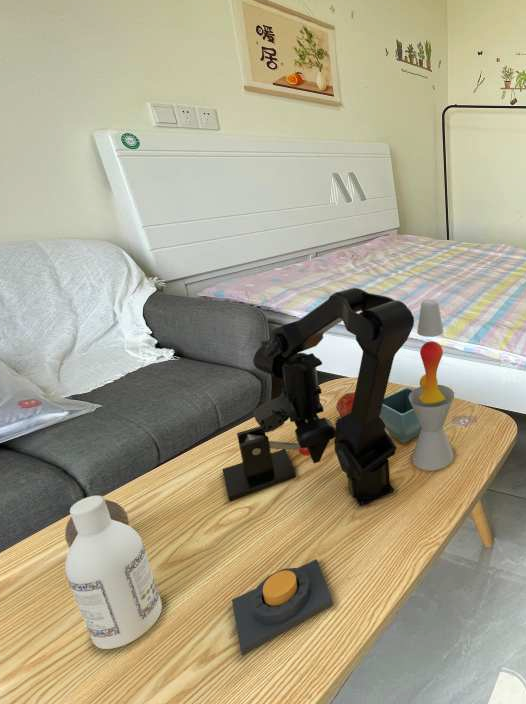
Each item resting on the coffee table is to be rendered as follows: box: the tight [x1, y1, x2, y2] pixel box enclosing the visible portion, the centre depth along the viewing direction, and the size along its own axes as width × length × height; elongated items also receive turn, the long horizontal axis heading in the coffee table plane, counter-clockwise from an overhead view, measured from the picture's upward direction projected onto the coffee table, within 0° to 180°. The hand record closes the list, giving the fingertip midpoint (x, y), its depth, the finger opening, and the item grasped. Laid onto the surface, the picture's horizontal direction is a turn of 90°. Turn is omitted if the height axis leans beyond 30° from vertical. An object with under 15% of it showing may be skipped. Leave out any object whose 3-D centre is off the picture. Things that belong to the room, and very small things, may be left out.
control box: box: [231, 558, 334, 656], centre depth 60 cm, size 11×8×3 cm
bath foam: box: [64, 495, 163, 650], centre depth 54 cm, size 7×7×20 cm
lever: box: [244, 434, 310, 457], centre depth 85 cm, size 13×3×3 cm, turn 128°
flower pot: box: [380, 387, 422, 443], centre depth 98 cm, size 9×9×9 cm
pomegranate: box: [335, 391, 355, 419], centre depth 102 cm, size 7×7×10 cm
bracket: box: [221, 425, 297, 503], centre depth 83 cm, size 11×9×9 cm
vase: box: [64, 499, 130, 549], centre depth 67 cm, size 7×7×9 cm
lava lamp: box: [409, 298, 455, 472], centre depth 86 cm, size 9×9×35 cm
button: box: [263, 570, 297, 606], centre depth 60 cm, size 4×4×2 cm
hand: (310, 450), depth 89 cm, fingers open, 9 cm apart
